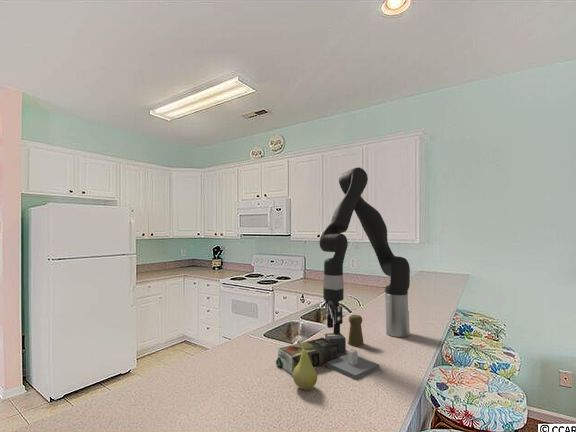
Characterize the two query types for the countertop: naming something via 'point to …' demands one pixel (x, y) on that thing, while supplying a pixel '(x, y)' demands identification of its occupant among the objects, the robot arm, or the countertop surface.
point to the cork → (355, 331)
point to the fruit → (304, 372)
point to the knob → (337, 341)
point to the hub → (352, 365)
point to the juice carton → (316, 350)
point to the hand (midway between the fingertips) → (333, 331)
